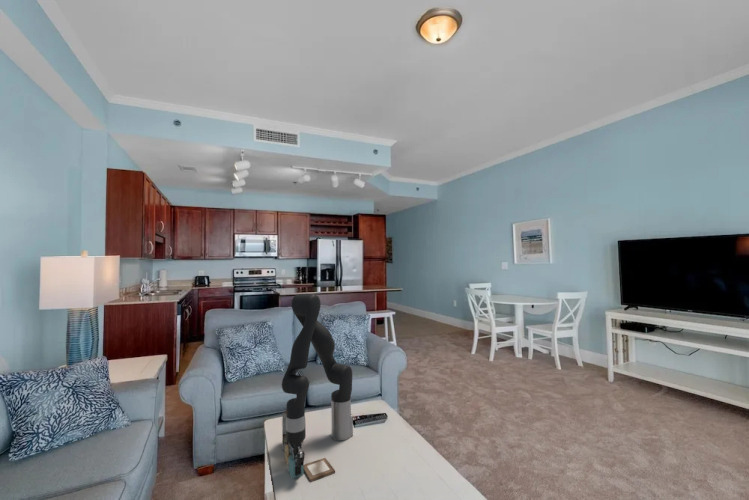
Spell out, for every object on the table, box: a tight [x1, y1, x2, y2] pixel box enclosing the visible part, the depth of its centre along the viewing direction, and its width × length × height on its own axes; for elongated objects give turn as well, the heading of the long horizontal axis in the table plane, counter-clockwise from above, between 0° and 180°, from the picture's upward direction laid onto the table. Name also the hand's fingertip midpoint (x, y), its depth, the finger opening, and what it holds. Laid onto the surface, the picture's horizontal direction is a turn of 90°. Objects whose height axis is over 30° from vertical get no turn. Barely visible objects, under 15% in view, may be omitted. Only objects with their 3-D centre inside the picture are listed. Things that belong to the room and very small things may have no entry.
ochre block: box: [284, 445, 290, 466], centre depth 139 cm, size 4×4×6 cm
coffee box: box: [281, 410, 304, 452], centre depth 150 cm, size 9×6×16 cm
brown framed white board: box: [303, 457, 336, 483], centre depth 132 cm, size 10×10×1 cm
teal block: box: [288, 455, 305, 480], centre depth 130 cm, size 4×4×6 cm
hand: (296, 471), depth 130 cm, fingers closed on teal block, 4 cm apart
